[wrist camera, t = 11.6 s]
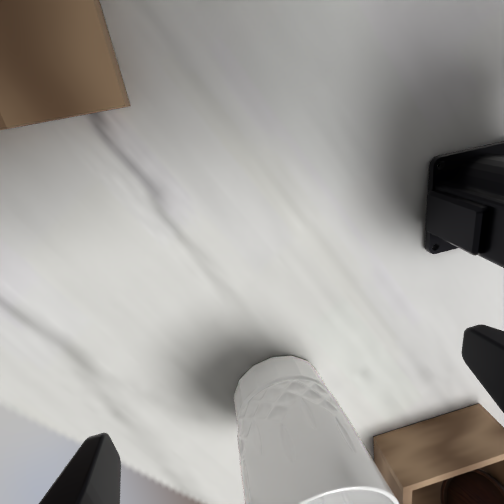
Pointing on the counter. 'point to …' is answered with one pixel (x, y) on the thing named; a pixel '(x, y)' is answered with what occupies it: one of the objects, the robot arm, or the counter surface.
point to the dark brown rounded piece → (472, 489)
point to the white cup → (300, 441)
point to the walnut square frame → (56, 62)
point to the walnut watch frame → (439, 453)
